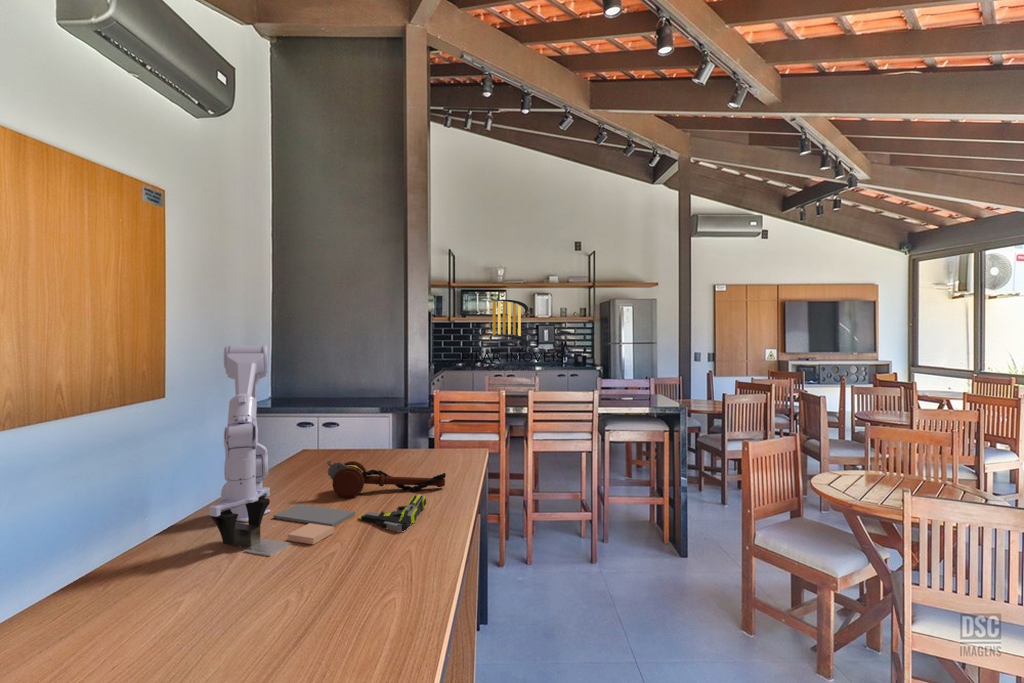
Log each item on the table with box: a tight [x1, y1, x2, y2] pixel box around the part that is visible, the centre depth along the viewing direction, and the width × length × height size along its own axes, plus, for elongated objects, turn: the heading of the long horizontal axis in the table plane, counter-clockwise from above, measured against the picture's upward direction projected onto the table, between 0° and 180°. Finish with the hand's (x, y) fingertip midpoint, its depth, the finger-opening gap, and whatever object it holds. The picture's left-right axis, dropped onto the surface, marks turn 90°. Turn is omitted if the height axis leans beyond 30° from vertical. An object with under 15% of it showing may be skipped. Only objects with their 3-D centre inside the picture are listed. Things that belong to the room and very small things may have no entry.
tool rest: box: [272, 503, 356, 528], centre depth 128 cm, size 18×9×1 cm, turn 72°
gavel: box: [326, 458, 446, 499], centre depth 149 cm, size 10×34×10 cm
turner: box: [231, 522, 292, 557], centre depth 111 cm, size 15×6×4 cm, turn 72°
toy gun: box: [358, 494, 427, 533], centre depth 128 cm, size 20×4×15 cm
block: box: [287, 523, 335, 545], centre depth 115 cm, size 2×7×7 cm
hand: (241, 537), depth 112 cm, fingers open, 6 cm apart
